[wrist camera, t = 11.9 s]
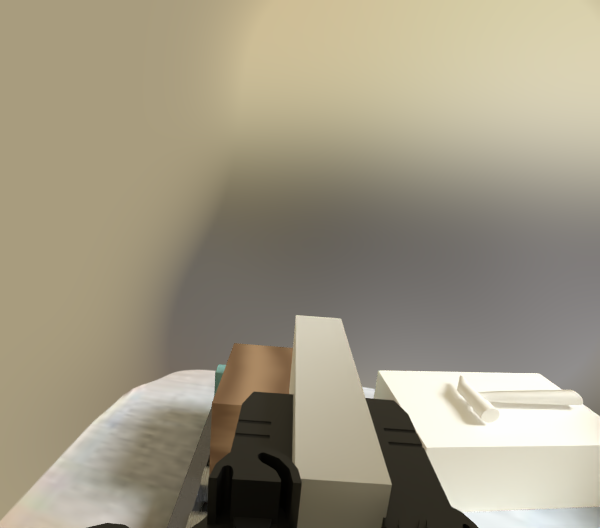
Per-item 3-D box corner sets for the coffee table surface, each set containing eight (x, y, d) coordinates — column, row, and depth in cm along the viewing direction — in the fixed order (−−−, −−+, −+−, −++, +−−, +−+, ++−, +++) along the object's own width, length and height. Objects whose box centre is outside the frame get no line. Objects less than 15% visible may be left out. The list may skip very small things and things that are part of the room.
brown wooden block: (339, 408, 46) (346, 352, 45) (353, 486, 35) (364, 414, 33) (231, 400, 46) (234, 343, 44) (209, 475, 34) (211, 403, 32)
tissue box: (369, 424, 52) (380, 355, 49) (525, 423, 55) (543, 359, 53) (412, 516, 38) (430, 427, 35) (616, 507, 41) (646, 426, 39)
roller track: (349, 426, 50) (353, 398, 49) (411, 721, 23) (424, 672, 22) (216, 416, 50) (217, 387, 49) (119, 707, 22) (117, 656, 21)
